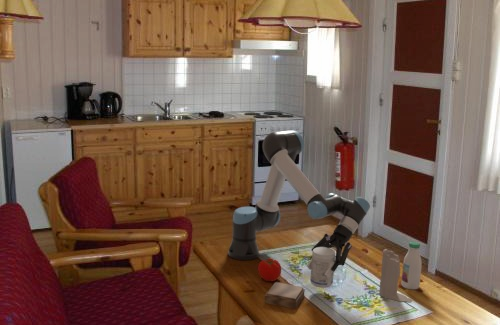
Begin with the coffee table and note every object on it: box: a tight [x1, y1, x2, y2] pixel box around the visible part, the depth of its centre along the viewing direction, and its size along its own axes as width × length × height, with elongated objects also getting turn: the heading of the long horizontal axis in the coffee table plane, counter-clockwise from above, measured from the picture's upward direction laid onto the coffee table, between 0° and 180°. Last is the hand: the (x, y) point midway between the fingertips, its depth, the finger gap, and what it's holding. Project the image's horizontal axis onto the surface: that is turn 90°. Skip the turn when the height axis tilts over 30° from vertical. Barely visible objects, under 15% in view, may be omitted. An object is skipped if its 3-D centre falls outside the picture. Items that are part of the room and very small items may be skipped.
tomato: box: [257, 258, 282, 282], centre depth 238 cm, size 11×11×9 cm
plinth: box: [264, 281, 306, 310], centre depth 219 cm, size 13×13×4 cm
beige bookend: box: [378, 248, 413, 303], centre depth 224 cm, size 7×14×20 cm, turn 58°
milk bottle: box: [400, 241, 423, 290], centre depth 235 cm, size 8×8×20 cm
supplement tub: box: [309, 247, 336, 289], centre depth 225 cm, size 10×10×15 cm
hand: (317, 272), depth 223 cm, fingers closed on supplement tub, 9 cm apart
